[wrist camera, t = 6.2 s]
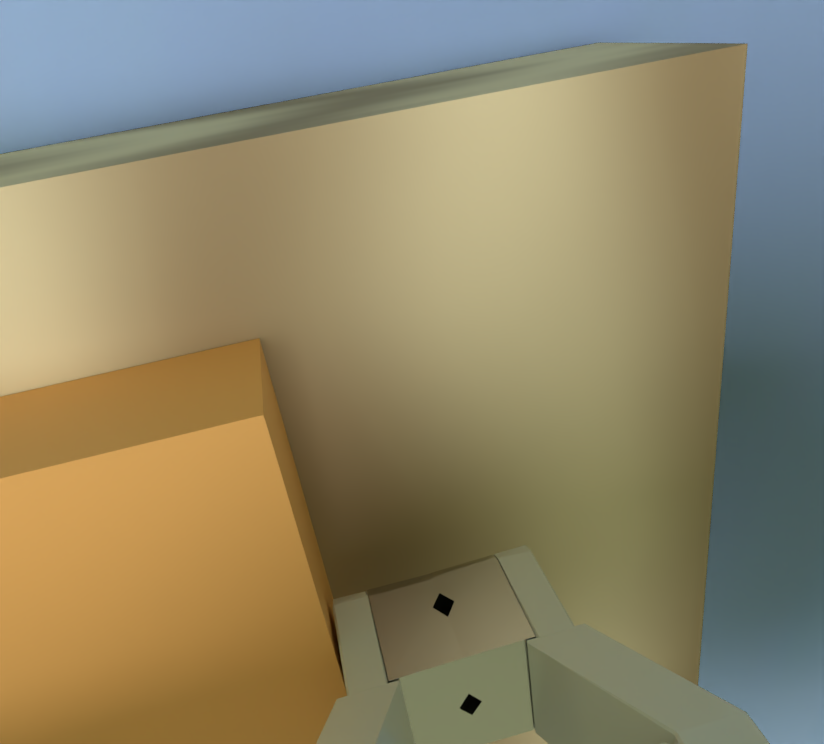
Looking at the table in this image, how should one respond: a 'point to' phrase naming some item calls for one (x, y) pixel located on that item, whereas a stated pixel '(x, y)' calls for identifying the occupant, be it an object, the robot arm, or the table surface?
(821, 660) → the table surface
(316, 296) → the cylinder
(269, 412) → the orange tile
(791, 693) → the table surface
